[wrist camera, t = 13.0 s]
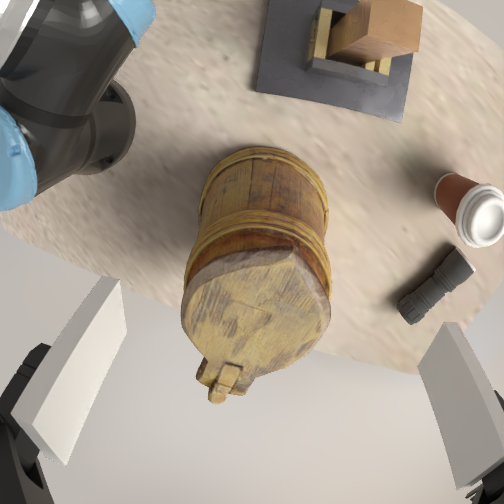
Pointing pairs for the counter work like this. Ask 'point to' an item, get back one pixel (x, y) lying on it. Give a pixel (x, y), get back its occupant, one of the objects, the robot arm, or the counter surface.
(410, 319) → the flashlight
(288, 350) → the tankard
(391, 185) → the counter surface
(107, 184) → the counter surface
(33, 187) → the robot arm
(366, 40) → the tapered wooden post
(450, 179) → the coffee cup
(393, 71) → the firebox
